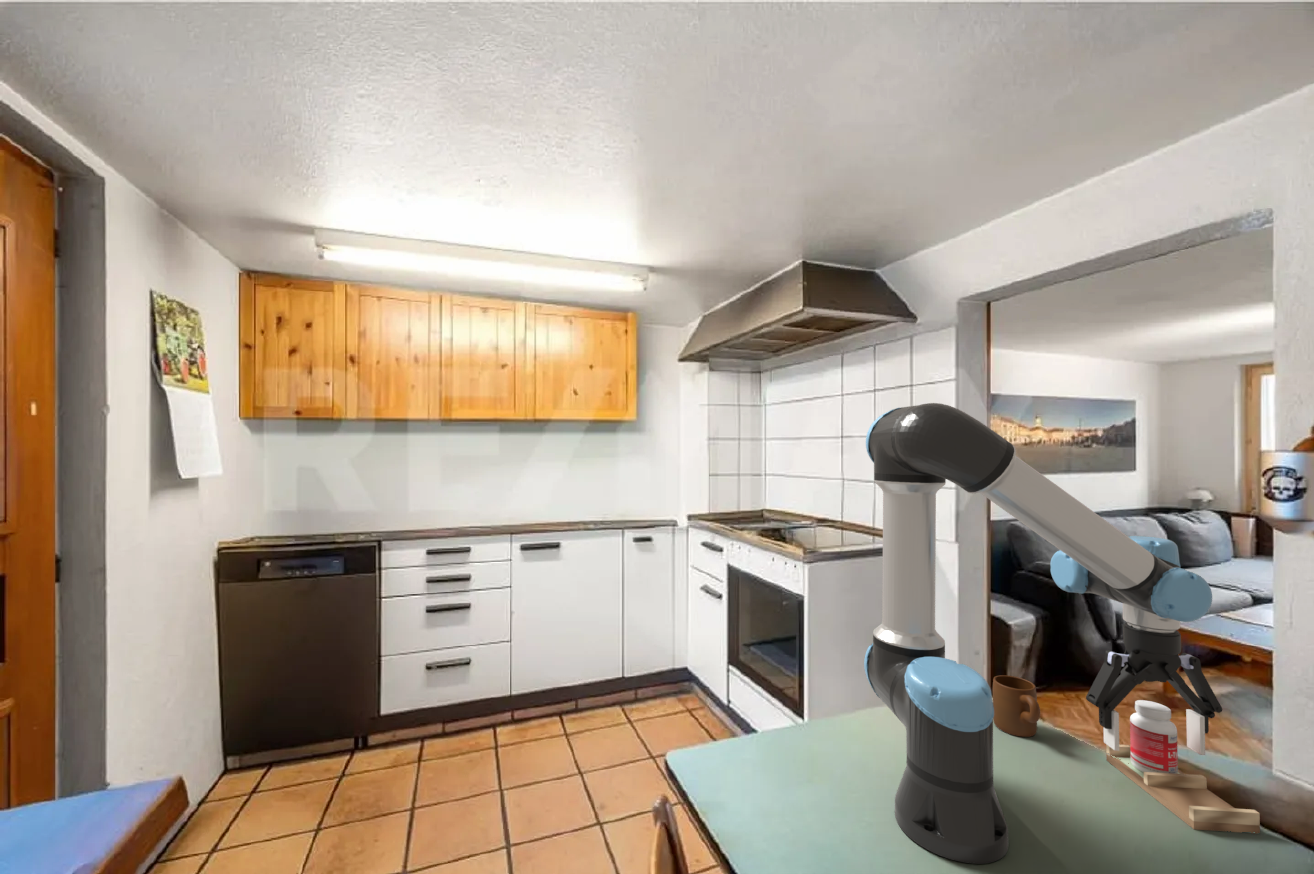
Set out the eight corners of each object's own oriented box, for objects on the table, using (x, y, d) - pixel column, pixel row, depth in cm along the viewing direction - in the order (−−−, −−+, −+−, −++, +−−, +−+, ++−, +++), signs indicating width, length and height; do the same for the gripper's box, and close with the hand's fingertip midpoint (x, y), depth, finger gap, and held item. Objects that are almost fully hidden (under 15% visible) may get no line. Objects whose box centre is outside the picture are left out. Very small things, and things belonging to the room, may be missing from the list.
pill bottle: (1177, 785, 91) (1175, 717, 91) (1128, 769, 96) (1127, 705, 96) (1179, 770, 96) (1177, 705, 96) (1132, 755, 100) (1131, 694, 100)
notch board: (1193, 829, 83) (1193, 809, 83) (1106, 760, 101) (1106, 743, 101) (1259, 833, 82) (1259, 813, 82) (1159, 763, 100) (1159, 746, 100)
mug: (1059, 751, 104) (1058, 701, 104) (1016, 749, 105) (1016, 699, 105) (1024, 720, 116) (1023, 675, 116) (986, 718, 117) (985, 673, 117)
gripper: (1089, 630, 94) (1091, 756, 93) (1250, 635, 91) (1253, 765, 91) (1061, 617, 101) (1063, 733, 101) (1209, 621, 99) (1212, 741, 98)
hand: (1153, 748), depth 96 cm, fingers open, 13 cm apart
